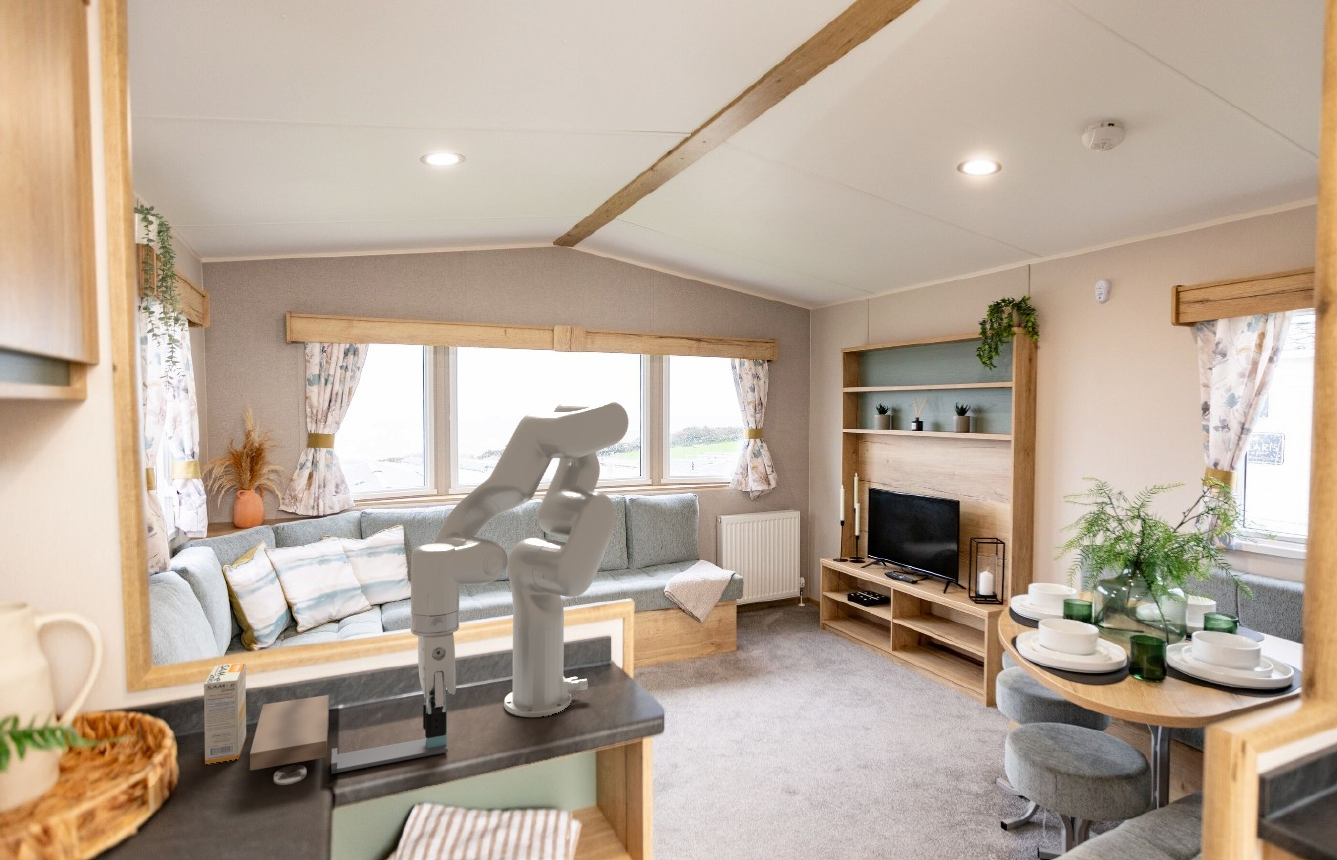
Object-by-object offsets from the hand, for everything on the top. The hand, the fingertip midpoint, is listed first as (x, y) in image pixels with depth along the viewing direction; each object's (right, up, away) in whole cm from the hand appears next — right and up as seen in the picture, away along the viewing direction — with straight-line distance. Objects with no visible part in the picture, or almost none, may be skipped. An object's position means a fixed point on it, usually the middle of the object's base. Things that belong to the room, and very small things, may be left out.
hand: (434, 731), depth 115 cm
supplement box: (-34, -3, -1) cm, 34 cm away
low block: (-22, -3, -3) cm, 22 cm away
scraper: (-7, -3, -3) cm, 8 cm away
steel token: (-19, -4, -9) cm, 21 cm away
